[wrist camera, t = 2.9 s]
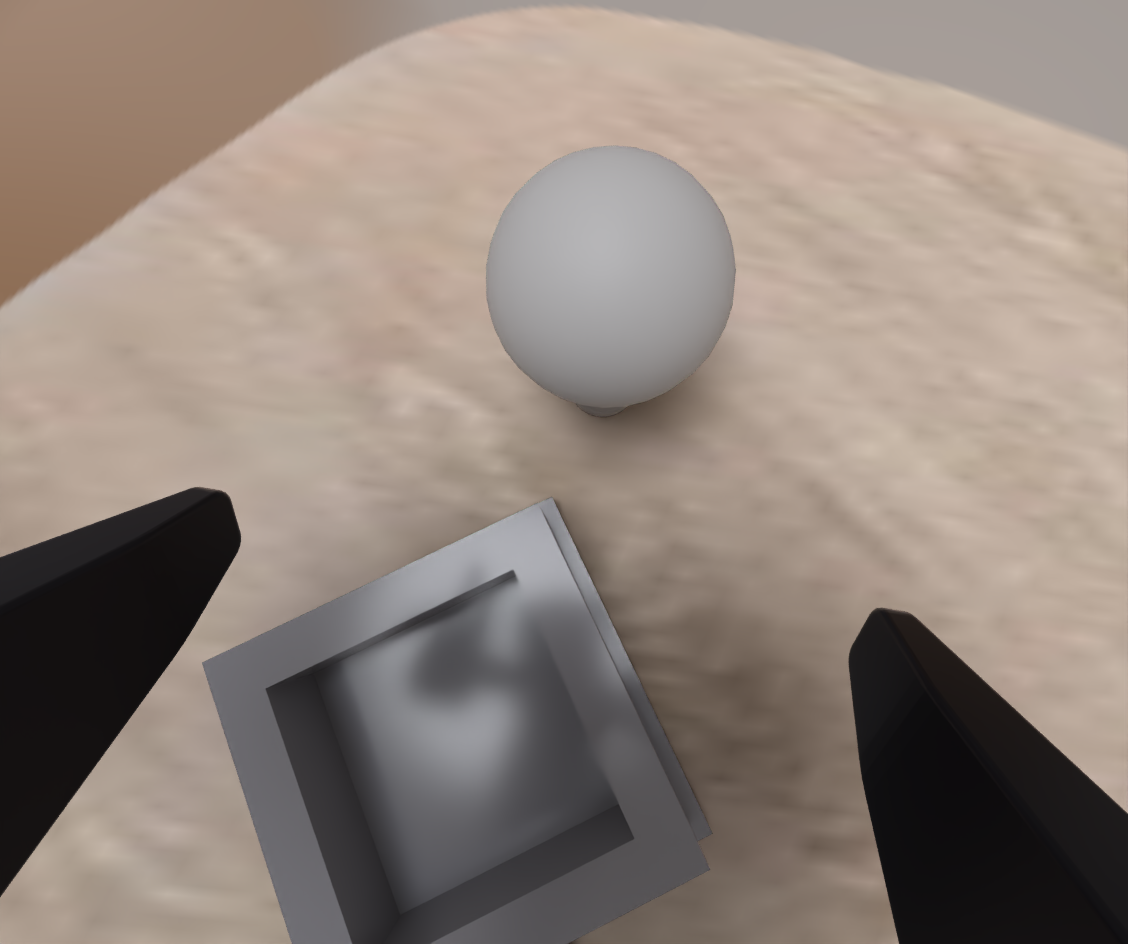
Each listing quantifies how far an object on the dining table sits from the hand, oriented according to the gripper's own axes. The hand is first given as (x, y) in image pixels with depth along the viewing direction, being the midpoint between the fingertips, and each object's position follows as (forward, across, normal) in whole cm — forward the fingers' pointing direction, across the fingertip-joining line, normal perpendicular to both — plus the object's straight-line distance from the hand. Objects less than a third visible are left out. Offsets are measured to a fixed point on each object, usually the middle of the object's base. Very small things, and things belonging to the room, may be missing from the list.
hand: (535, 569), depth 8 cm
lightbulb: (+15, 0, +4) cm, 15 cm away
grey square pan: (+3, 0, +16) cm, 16 cm away
